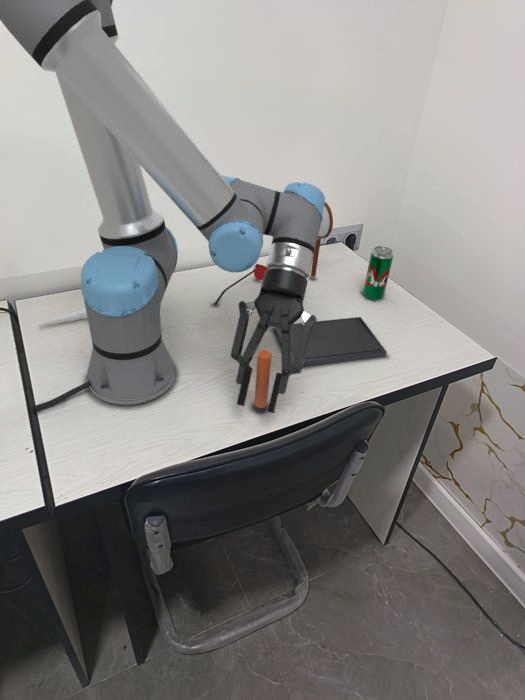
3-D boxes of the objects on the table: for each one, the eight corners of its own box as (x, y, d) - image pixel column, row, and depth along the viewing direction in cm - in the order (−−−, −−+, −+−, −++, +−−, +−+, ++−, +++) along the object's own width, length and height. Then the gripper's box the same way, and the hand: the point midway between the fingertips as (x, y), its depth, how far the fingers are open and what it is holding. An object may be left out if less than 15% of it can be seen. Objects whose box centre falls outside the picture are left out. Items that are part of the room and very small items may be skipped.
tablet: (292, 368, 96) (293, 363, 95) (273, 330, 106) (274, 325, 105) (385, 356, 101) (387, 351, 100) (359, 321, 110) (360, 316, 110)
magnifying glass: (324, 286, 122) (337, 208, 110) (318, 287, 121) (331, 208, 109) (306, 270, 128) (316, 194, 116) (300, 271, 127) (310, 195, 115)
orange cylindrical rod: (255, 413, 85) (259, 359, 78) (252, 405, 87) (256, 351, 80) (267, 412, 86) (273, 357, 78) (264, 403, 87) (269, 349, 80)
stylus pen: (110, 308, 108) (109, 300, 107) (114, 314, 106) (113, 306, 105) (38, 324, 102) (36, 317, 100) (41, 331, 100) (39, 323, 99)
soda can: (382, 291, 122) (393, 246, 115) (384, 301, 118) (395, 256, 111) (361, 289, 122) (371, 244, 115) (363, 299, 118) (373, 253, 111)
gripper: (233, 258, 82) (199, 395, 79) (338, 277, 79) (306, 420, 76) (241, 272, 89) (210, 398, 86) (337, 290, 86) (308, 421, 83)
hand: (255, 408), depth 81 cm, fingers open, 4 cm apart
